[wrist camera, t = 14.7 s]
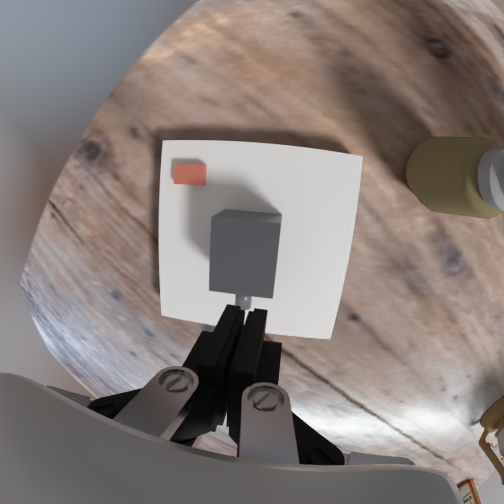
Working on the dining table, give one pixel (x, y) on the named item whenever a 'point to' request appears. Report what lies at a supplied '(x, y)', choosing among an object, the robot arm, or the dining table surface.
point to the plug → (244, 254)
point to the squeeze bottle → (458, 176)
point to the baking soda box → (469, 493)
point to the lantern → (500, 418)
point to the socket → (266, 201)
